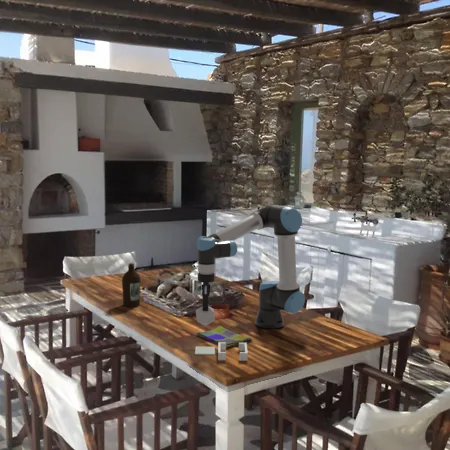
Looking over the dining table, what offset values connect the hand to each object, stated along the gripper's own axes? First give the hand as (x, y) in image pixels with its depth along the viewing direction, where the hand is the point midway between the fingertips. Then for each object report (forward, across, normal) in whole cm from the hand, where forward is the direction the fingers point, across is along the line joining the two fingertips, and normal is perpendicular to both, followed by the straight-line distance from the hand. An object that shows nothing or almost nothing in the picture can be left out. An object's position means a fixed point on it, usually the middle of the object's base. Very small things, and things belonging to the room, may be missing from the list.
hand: (205, 322), depth 257 cm
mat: (+14, 0, 0) cm, 14 cm away
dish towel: (+14, -18, +9) cm, 25 cm away
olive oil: (+14, -71, -45) cm, 85 cm away
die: (+1, +2, 0) cm, 2 cm away
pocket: (+14, +4, +13) cm, 19 cm away
